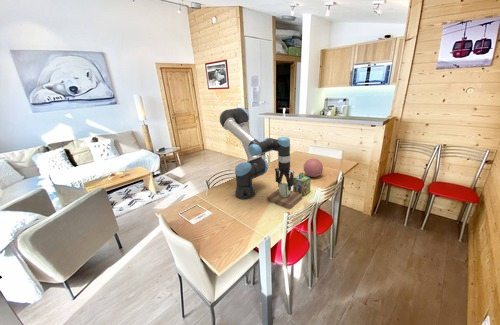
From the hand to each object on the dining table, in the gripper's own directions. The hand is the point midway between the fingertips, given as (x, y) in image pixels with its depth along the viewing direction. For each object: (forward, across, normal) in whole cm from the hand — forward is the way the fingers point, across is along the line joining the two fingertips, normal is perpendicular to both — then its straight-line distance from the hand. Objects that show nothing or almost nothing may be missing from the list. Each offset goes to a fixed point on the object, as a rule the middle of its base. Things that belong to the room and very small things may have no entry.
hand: (284, 193), depth 143 cm
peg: (+5, 0, 0) cm, 5 cm away
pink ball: (+6, -2, +48) cm, 48 cm away
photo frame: (+6, -37, -48) cm, 61 cm away
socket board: (+5, 0, 0) cm, 5 cm away
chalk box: (+6, +4, +16) cm, 17 cm away
